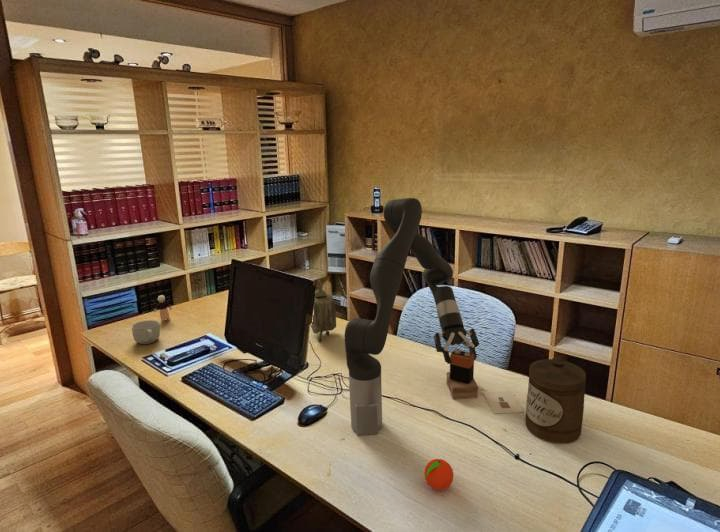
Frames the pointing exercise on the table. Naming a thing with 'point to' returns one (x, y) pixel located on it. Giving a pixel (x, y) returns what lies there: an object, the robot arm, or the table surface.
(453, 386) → the base brick
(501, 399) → the page
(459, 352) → the battery
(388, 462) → the table surface
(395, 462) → the table surface
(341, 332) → the table surface
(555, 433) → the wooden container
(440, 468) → the red tomato
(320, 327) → the grey brown tall figure
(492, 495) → the table surface
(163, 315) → the grandmother figurine
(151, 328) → the teacup
